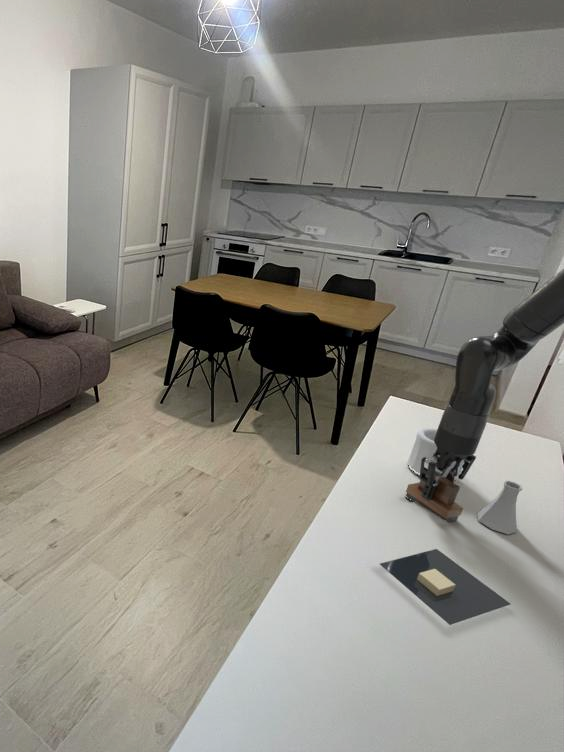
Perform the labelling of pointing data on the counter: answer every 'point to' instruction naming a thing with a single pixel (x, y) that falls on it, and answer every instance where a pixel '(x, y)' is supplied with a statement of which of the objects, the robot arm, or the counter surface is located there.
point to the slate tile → (454, 605)
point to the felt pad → (436, 582)
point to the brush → (438, 499)
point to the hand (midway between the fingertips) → (434, 496)
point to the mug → (423, 448)
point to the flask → (502, 510)
